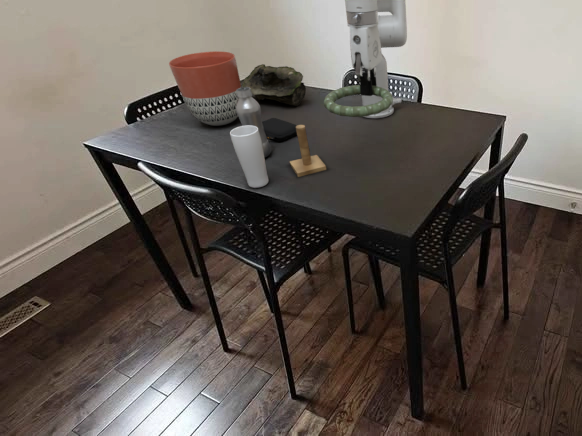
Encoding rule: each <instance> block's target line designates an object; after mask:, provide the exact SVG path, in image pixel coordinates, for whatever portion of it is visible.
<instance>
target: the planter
mask: <svg viewBox="0 0 582 436" xmlns="http://www.w3.org/2000/svg"><path fill="white" fill-rule="evenodd" d="M168 65H169V68H170V71H171V73H172V76H173V77H174V80H175V83H176V85H177V87H178V90H179V92H180V95H181V97H182V100H183V102H184V104H185V106H186V108H187V109H188V111H189V112H190V113H191V114H192V116H193V117H194V118H195V119H197V120H198V121H199V122H201V123H203V124H205V125H208V126H213V127H221V126H226V125H229V124H231V123H234V121H236V120H237V118H239V117H238V114H237V112H236V105H237V102H238V100H239V98H238V97H237V92H236V90H237V89H238V88H242V84H241V78H240V73H239V69H238V63H237V59H236V56H235V54H234V53H232V52H229V51H219V50H218V51H217V50H216V51H215V50H214V51H201V52H194V53H187V54H184V55H180V56H177V57H175V58H173V59H171V60H170V61H169V62H168Z"/></svg>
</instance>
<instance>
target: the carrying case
mask: <svg viewBox="0 0 582 436" xmlns="http://www.w3.org/2000/svg"><path fill="white" fill-rule="evenodd" d="M262 123H263V128H264V132H265V134H266V137H267V140H274V141H278V142H282V141H283V142H284V141H286V140H288V139H290V138H292V137H294V136H297V131H296V126H297V124H295V123H292V122H289V121H286V120H283V119H280V118H277V117H271V118H268V119H265V120H262Z"/></svg>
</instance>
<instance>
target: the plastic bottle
mask: <svg viewBox="0 0 582 436" xmlns="http://www.w3.org/2000/svg"><path fill="white" fill-rule="evenodd" d="M236 92H237V97H238V98H239V100H238V102H237V105H236V112H237V114H238V117H237V118H238V119H239V121H240V123H241V126H246V125H252V126H256V127H257V128H258V130H259V133H260V136H261V140H262V145H263V150H264V157H265V158H267V157H269V156H270V154H271V151H272V149H271V148H272V147H271V143H270V142H269V139H268V138H267V137H266V134H265V132H264V128H263V123H262V122H263V119H262V109H261V105H260V103H259V102H258V101H257V100H256V99H255V98H254V97H253V94H252V93H251V89H250V88H249V87H243V86H241V88H238V89H237V90H236Z"/></svg>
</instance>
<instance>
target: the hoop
mask: <svg viewBox="0 0 582 436" xmlns="http://www.w3.org/2000/svg"><path fill="white" fill-rule="evenodd" d="M372 91H373V95H375V96H379V97H381V98H383V99H382V101H379V102H377V103H375V104H371V105H366V106H363V105H357V106H356V105H355V106H351V105H343V104H338V103H336V101H337V100H341V99H342V98H345V97H350V96H356V95H359V96H361V91H360V84H356V85H355V84H354V85H348V86H343V87H339V88H337V89H333V90H332V91H330V92H329V93H328V94H327V95H325V96H324V100H323V106H324V108H325V109H326V110H327V111H328V112H329V113H331V114H334V115H337V116H340V117H349V118H361V117H363V116H369V115H373V114H378V113H380V112H382V111H384V110H386V109H388V108H389V107H390V105H391V104H392V103H393V98H394V97H393V94H392V92H391V91H390V90H389V89H388V90H386V89H385V88H381V87H378V86H372Z"/></svg>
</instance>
